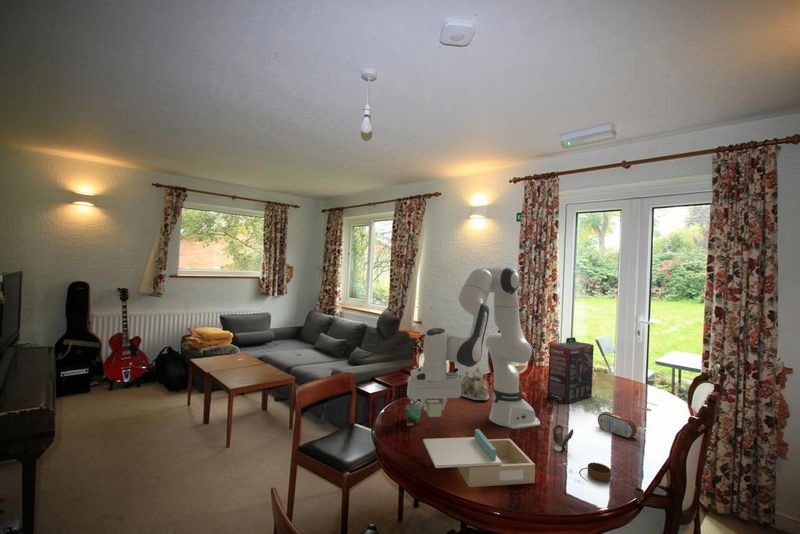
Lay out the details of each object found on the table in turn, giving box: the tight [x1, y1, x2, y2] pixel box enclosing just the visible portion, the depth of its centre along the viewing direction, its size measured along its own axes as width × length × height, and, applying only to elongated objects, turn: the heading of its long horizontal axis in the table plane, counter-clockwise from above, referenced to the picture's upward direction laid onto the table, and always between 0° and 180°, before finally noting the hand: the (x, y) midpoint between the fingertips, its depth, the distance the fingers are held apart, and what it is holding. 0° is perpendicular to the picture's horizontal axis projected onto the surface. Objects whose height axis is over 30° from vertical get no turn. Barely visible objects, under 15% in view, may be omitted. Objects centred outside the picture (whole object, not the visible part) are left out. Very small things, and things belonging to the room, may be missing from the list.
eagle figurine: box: [552, 424, 574, 453], centre depth 144 cm, size 8×7×9 cm
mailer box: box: [456, 438, 536, 488], centre depth 127 cm, size 22×18×7 cm
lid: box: [422, 428, 502, 469], centre depth 125 cm, size 22×18×4 cm
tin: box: [597, 411, 638, 439], centre depth 161 cm, size 15×3×8 cm, turn 37°
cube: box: [426, 399, 442, 418], centre depth 139 cm, size 4×4×4 cm
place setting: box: [578, 462, 645, 505], centre depth 120 cm, size 18×20×6 cm
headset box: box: [546, 336, 595, 405], centre depth 207 cm, size 25×12×33 cm, turn 124°
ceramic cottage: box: [460, 366, 490, 401], centre depth 202 cm, size 16×16×15 cm
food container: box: [405, 399, 424, 428], centre depth 164 cm, size 12×6×10 cm, turn 168°
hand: (433, 409), depth 139 cm, fingers closed on cube, 4 cm apart
